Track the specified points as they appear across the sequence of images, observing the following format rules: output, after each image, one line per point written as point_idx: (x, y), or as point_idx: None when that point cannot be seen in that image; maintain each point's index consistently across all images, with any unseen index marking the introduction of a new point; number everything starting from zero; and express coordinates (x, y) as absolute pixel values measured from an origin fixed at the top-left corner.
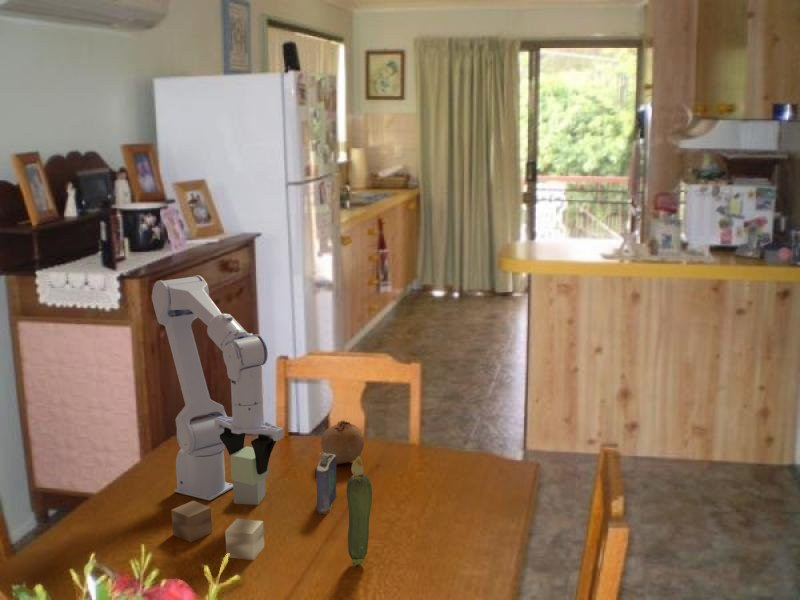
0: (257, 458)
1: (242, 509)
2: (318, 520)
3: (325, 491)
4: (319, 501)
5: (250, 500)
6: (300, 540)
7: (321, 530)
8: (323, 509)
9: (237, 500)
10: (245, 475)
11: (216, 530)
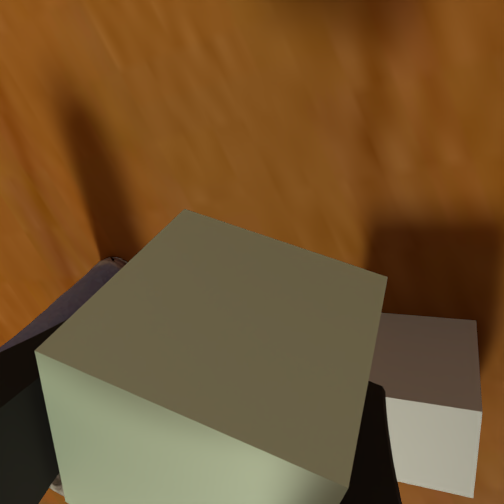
0: (7, 372)
1: (411, 268)
2: (98, 213)
3: (47, 308)
4: (90, 283)
5: (390, 324)
6: (57, 41)
7: (48, 143)
8: (97, 264)
9: (456, 328)
10: (218, 265)
11: (479, 19)
